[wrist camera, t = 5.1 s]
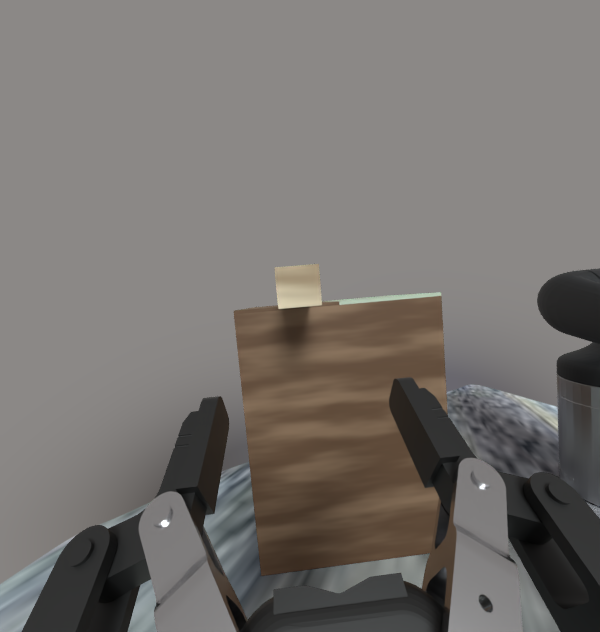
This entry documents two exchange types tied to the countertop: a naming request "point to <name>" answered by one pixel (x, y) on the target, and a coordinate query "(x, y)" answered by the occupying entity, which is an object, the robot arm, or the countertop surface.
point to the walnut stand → (337, 428)
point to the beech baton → (298, 286)
